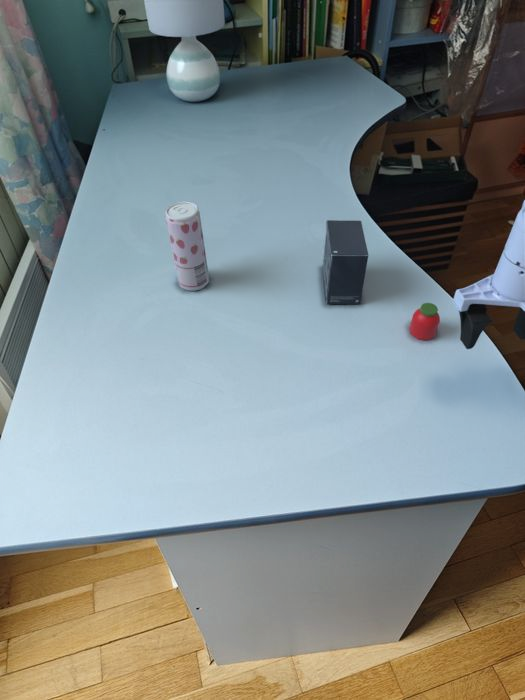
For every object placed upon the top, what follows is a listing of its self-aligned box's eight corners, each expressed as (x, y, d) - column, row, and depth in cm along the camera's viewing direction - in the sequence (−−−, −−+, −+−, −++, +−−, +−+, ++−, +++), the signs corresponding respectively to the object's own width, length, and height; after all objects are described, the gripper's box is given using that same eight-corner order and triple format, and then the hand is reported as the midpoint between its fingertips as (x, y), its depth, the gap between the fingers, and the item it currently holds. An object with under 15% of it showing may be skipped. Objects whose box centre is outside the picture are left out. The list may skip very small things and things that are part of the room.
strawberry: (434, 323, 81) (441, 300, 77) (437, 341, 78) (445, 318, 74) (408, 321, 81) (414, 298, 77) (410, 339, 78) (416, 316, 74)
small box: (362, 305, 84) (370, 255, 76) (325, 305, 84) (329, 255, 77) (356, 267, 91) (362, 218, 84) (321, 268, 92) (324, 219, 84)
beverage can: (183, 271, 92) (170, 199, 81) (212, 273, 91) (203, 201, 81) (175, 290, 88) (159, 218, 78) (205, 293, 88) (194, 220, 77)
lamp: (241, 88, 157) (231, -78, 127) (211, 114, 143) (192, -65, 114) (182, 81, 163) (160, -79, 133) (148, 105, 149) (115, -67, 120)
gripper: (488, 287, 51) (455, 370, 61) (612, 267, 53) (560, 351, 63) (458, 248, 56) (431, 331, 66) (572, 231, 58) (529, 315, 68)
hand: (492, 339), depth 65 cm, fingers open, 7 cm apart
